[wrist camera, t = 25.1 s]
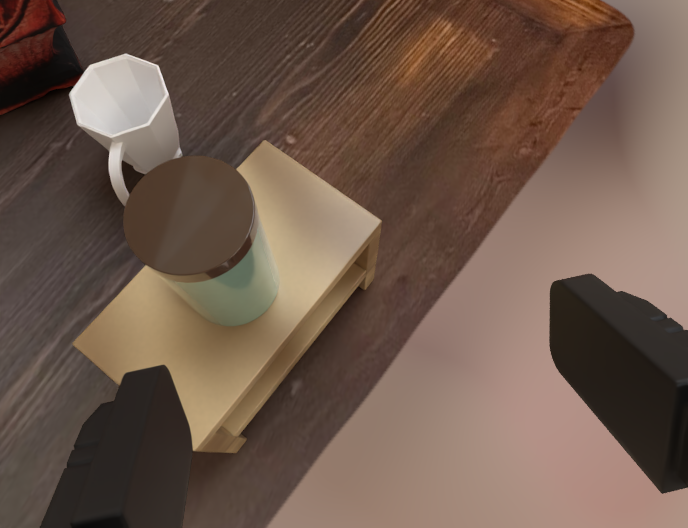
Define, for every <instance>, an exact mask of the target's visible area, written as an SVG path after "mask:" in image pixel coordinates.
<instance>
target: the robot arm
mask: <svg viewBox="0 0 688 528" xmlns="http://www.w3.org/2000/svg"><path fill="white" fill-rule="evenodd" d="M550 351H551V355H552V358H553V361H554V363H555V366H556V368H557V369H558V371H559V372H560V373H561V375H562V376H563V377H564V378H565V380H566V381H567V382H568V383H569V384H570V385H571V387H572V388H573V389H574V390H575V391H576V393H577V394H578V395H579V396H580V397H581V398H582V400H583V401H584V402H585V403H586V404H587V406H588V407H589V408H590V409H591V410H592V411H593V413H594V414H595V415H596V416H597V417H598V419H599V420H600V421H601V422H602V423H603V424H604V426H605V427H606V428H607V429H608V430H609V432H610V433H611V434H612V435H613V436H614V437H615V439H616V440H617V441H618V442H619V443H620V445H621V446H622V447H623V448H624V449H625V451H626V452H627V453H628V454H629V455H630V456H631V458H632V459H633V460H634V461H635V462H636V463H637V465H638V466H639V467H640V468H641V469H642V471H643V472H644V473H645V474H646V475H647V476H648V478H649V479H650V480H651V481H652V482H653V483H654V485H655V486H656V487H657V488H658V490H659V491H660V492H661V493H662V494H663V493H667V492H671V491H675V490H679V489H683V488H687V487H688V330H683V327H682V326H681V325H680V324H678V323H677V322H676V321H674V320H673V319H672V318H667V315H666V314H665V313H663V312H662V311H661V310H659V309H658V308H657V307H655V306H654V305H652V304H651V303H649V302H648V301H646V300H644V299H641V298H638V297H636V296H633V295H631V294H628V293H626V292H623V291H620V292H616V291H614V290H613V289H612V288H610V287H609V286H608V285H607V284H605V283H604V282H603V281H601V280H600V279H599V278H597V277H596V276H595V275H593V274H585V275H581V276H576V277H571V278H567V279H562V280H557V281H554V282H553V283H552V285H551V289H550ZM74 448H75V449H74V450H72V452H71V454H70V457H69V459H68V462H67V468H65V469H64V471H63V473H62V476H61V478H60V481H59V483H58V485H57V488H56V490H55V493H54V495H53V497H52V500H51V502H50V505H49V507H48V509H47V512H46V514H45V517H44V519H43V521H42V524H41V526H40V528H182V525H183V518H184V511H185V503H186V496H187V489H188V482H189V475H190V468H191V461H192V452H193V446H192V436H191V430H190V426H189V423H188V420H187V417H186V415H185V412H184V409H183V406H182V404H181V401H180V398H179V395H178V393H177V390H176V387H175V385H174V382H173V379H172V376H171V374H170V371H169V370H168V368H167V367H166V366H165V365H159V366H154V367H149V368H145V369H140V370H135V371H131V372H126V373H125V374H124V375H123V378H122V380H121V383H120V386H119V389H118V391H117V394H116V397H115V400H114V401H112V402H107V403H103V404H101V405H100V406H99V407H98V408H97V409H96V410H95V412H94V413H93V414H92V415H91V416H90V417H89V418H88V419H87V421H86V422H85V423H84V424H83V426H82V428H81V430H80V433H79V435H78V438H77V440H76V442H75V445H74Z"/></svg>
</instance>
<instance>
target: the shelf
mask: <svg viewBox="0 0 688 528" xmlns="http://www.w3.org/2000/svg"><path fill="white" fill-rule="evenodd" d="M236 170H237V171H238V172H239V173H240V174H241V175H242V176H243V177H244V178H245V180H246V181H247V183H248V185H249V186H250V189H251V191H252V193H253V196H254V199H255V202H256V205H257V209H258V213H259V216H260V219H261V222H262V224H263V227H264V230H265V233H266V235H267V238H268V241H269V243H270V246H271V249H272V252H273V254H274V257H275V260H276V263H277V265H278V269H279V275H280V283H279V289H278V292H277V295H276V297H275V300H274V301H273V303H272V305H271V306H270V307H269V308H268V310H267V311H266V312H265V313H264V314H262V315H261V316H260V317H258V318H257V319H255V320H253V321H251V322H249V323H247V324H243V325H240V326H220V325H216V324H213V323H211V322H209V321H207V320H205V319H204V318H202V317H201V316H200V315H199V314H198V313H197V312H196V311H195V310H193V309H192V308H191V307H190V306H189V305H188V304H187V303H186V302H185V301H184V300H183V299H182V298H181V297H180V296H179V295H178V294H177V293H176V292H175V291H174V290H173V289H172V288H171V287H170V286H168V285H167V284H166V283H165V282H164V281H163V280H162V279H161V278H160V277H159V276H158V275H157V274H156V273H154V272H153V271H152V270H150V269H149V268H148V267H147V266H145V267H144V268H143V269H142V270H141V271H140V272H139V273H138V274H137V275H136V276H135V277H134V278H133V279H132V280H131V282H130V283H129V284H128V285H127V286H126V287H125V288H124V289H123V290H122V291H121V292H120V293H119V294H118V295H117V296H116V297H115V298H114V300H113V301H112V302H111V303H110V304H109V305H108V306H107V307H106V308H105V309H104V310H103V311H102V312H101V313H100V314H99V315H98V317H97V318H96V319H95V320H94V321H93V322H92V323H91V324H90V325H89V326H88V327H87V328H86V329H85V330H84V331H83V332H82V333H81V335H80V336H79V337H78V338H77V339H76V340H75V341H74V342H73V343H72V344H73V346H75V347H76V348H77V349H78V350H79V351H80V352H81V353H83V354H84V355H85V356H86V357H87V358H88V359H89V360H91V361H92V362H93V363H94V364H95V365H96V366H97V367H98V368H100V369H101V370H102V371H103V372H104V373H105V374H106V375H108V376H109V377H110V378H111V379H112V380H113V381H114V382H115V383H117V384H118V385H119V386H120V383H121V380H122V378H123V375H124V374H125V373H126V372H131V371H135V370H140V369H145V368H149V367H154V366H159V365H165V366H166V367H167V368H168V370H169V371H170V374H171V376H172V379H173V382H174V385H175V387H176V390H177V393H178V395H179V398H180V401H181V404H182V406H183V409H184V412H185V415H186V417H187V420H188V423H189V426H190V430H191V436H192V446H193V451H200V452H220V453H237V452H238V450H239V449H240V448H241V447H242V445H243V444H244V443H245V441H246V440H247V438H246V437H244V436H243V435H242V434H241V432H242V431H243V430H244V429H245V427H246V426H247V425H248V423H249V422H250V421H251V420H252V418H253V417H254V416H255V415H256V413H257V412H258V411H259V410H260V408H261V407H262V406H263V405H264V403H265V402H266V401H267V400H268V398H269V397H270V396H271V395H272V393H273V392H274V391H275V390H276V388H277V387H278V386H279V385H280V383H281V382H282V381H283V380H284V378H285V377H286V376H287V375H288V373H289V372H290V371H291V370H292V368H293V367H294V366H295V365H296V363H297V362H298V361H299V360H300V358H301V357H302V356H303V355H304V353H305V352H306V351H307V350H308V348H309V347H310V346H311V344H312V343H313V342H314V341H315V339H316V338H317V337H318V336H319V334H320V333H321V332H322V331H323V329H324V328H325V327H326V326H327V324H328V323H329V322H330V321H331V319H332V318H333V317H334V316H335V314H336V313H337V312H338V311H339V309H340V308H341V307H342V306H343V304H344V303H345V302H346V301H347V299H348V298H349V297H350V296H351V294H352V293H353V292H354V291H355V289H356V288H357V287H358V286H359V287H360V288H362V289H363V290H366V288H367V287H368V286H369V285H370V283H371V282H372V281H373V280H374V273H375V266H376V259H377V253H378V246H379V239H380V232H381V224H382V221H381V220H380V219H379V218H377V217H376V216H374V215H373V214H371V213H370V212H369V211H367V210H366V209H364V208H363V207H361V206H360V205H358V204H357V203H356V202H354V201H353V200H351V199H350V198H348V197H347V196H345V195H344V194H343V193H341V192H340V191H338V190H337V189H335V188H334V187H332V186H331V185H330V184H328V183H327V182H325V181H324V180H322V179H321V178H319V177H318V176H316V175H315V174H314V173H312V172H311V171H309V170H308V169H306V168H305V167H303V166H302V165H301V164H299V163H298V162H296V161H295V160H293V159H292V158H290V157H289V156H288V155H286V154H285V153H283V152H282V151H280V150H279V149H277V148H276V147H275V146H273V145H272V144H270V143H269V142H267V141H266V140H264V141H263V142H262V143H261V144H260V145H259V146H258V147H257V148H256V149H255V150H254V151H253V152H252V153H251V154H250V155H249V157H248V158H247V159H246V160H245V161H244V162H243V163H242V164H241V165H240V166H239V167H238V168H237V169H236Z"/></svg>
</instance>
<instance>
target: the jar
mask: <svg viewBox="0 0 688 528" xmlns="http://www.w3.org/2000/svg"><path fill="white" fill-rule="evenodd" d="M123 228H124V234H125V237H126V240H127V242H128V244H129V246H130V248H131V250H132V251H133V253H134V254H135V255H136V256H137V257H138V258H139V259H140V260H141V261H142V262H143V263H144V264H145V265H146V266H147V267H148V268H149V269H150V270H152V271H153V272H154V273H156V274H157V275H158V276H159V277H160V278H161V279H162V280H163V281H164V282H165V283H166V284H167V285H168V286H170V287H171V288H172V289H173V290H174V291H175V292H176V293H177V294H178V295H179V296H180V297H181V298H182V299H183V300H184V301H185V302H186V303H187V304H188V305H189V306H190V307H191V308H192V309H193V310H195V311H196V312H197V313H198V314H199V315H200V316H201V317H202V318H204V319H205V320H207V321H209V322H211V323H213V324H216V325H220V326H240V325H243V324H247V323H249V322H251V321H253V320H255V319H257V318H258V317H260V316H261V315H262V314H264V313H265V312H266V311H267V310H268V308H269V307H270V306H271V305H272V303H273V301H274V300H275V297H276V295H277V292H278V289H279V283H280V275H279V269H278V265H277V263H276V260H275V257H274V254H273V252H272V249H271V246H270V243H269V241H268V238H267V235H266V233H265V230H264V227H263V224H262V222H261V219H260V216H259V213H258V209H257V205H256V202H255V199H254V196H253V193H252V191H251V189H250V186H249V185H248V183H247V181H246V180H245V178H244V177H243V176H242V175H241V174H240V173H239V172H238V171H237V170H236V169H235V168H233V167H232V166H230V165H229V164H227V163H225V162H223V161H221V160H218V159H215V158H211V157H207V156H184V157H179V158H175V159H172V160H169V161H166V162H164V163H162V164H160V165H158V166H157V167H155V168H153V169H152V170H150V171H149V172H148V173H147V174H146V175H144V176H143V177H142V178H141V179H140V181H139V182H138V183H137V184H136V186H135V187H134V188H133V190H132V192H131V193H130V195H129V197H128V200H127V202H126V206H125V209H124V216H123Z"/></svg>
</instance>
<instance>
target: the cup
mask: <svg viewBox="0 0 688 528" xmlns="http://www.w3.org/2000/svg"><path fill="white" fill-rule="evenodd" d="M69 97H70V100H71V104H72V108H73V111H74V115H75V118H76V122H77V125H78V126H79V127H81V128H82V129H83V130H84V131H85V132H87V133H88V134H89V135H90V136H92V137H93V138H94V139H95V140H97V141H98V142H99V143H100V144H101V145H103V146H104V147H105V148H106V149H107V150H109V151H110V153H109V174H110V179H111V183H112V187H113V189H114V191H115V193H116V195H117V197H118V198H119V200H120V201H121V203H122V204H123V205H124V206H126V202H127V200H128V197H129V193H128V191H127V189H126V187H125V184H124V180H123V175H122V170H121V162H122V160H123V161H125V162H127V163H128V164H130V165H133V168H134V169H135V171H138V172H140V173H143V174H145V175H146V174H147V173H148V172H149V171H150V170H152V169H153V168H155V167H157V166H158V165H160V164H162V163H164V162H166V161H169V160H172V159H175V158H179V157H181V156H182V152H181V149H180V146H179V132H178V129H177V125H176V121H175V118H174V114H173V110H172V105H171V102H170V98H169V94H168V91H167V89H166V86H165V83H164V80H163V77H162V74H161V71H160V68H159V66H158V65H155V64H153V63H150V62H147V61H145V60H142V59H139V58H136V57H134V56H131V55H128V54H123V55H120V56H117V57H114V58H111V59H107V60H104V61H101V62H98V63H95V64H91V65H89V66H88V68H87V69H86V71H85V72H84V73H83V75H82V76H81V78H80V79H79V80H78V82H77V83H76V85H75V86H74V88H73V89H72V90H71V92H70V93H69Z"/></svg>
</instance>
